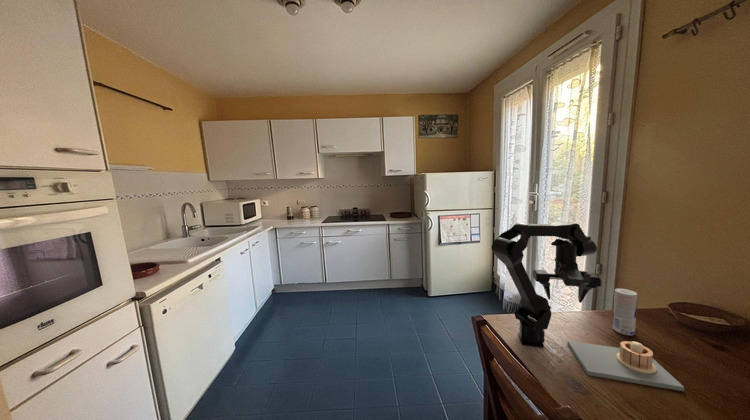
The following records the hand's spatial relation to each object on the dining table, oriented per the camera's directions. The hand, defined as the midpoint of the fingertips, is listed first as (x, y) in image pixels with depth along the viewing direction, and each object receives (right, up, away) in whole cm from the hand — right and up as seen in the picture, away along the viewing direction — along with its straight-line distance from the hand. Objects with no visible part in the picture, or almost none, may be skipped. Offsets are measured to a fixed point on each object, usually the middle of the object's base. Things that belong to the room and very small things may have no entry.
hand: (564, 300), depth 88 cm
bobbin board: (+4, -13, -15) cm, 21 cm away
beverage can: (+21, -11, 0) cm, 24 cm away
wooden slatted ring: (+8, -12, -16) cm, 22 cm away
